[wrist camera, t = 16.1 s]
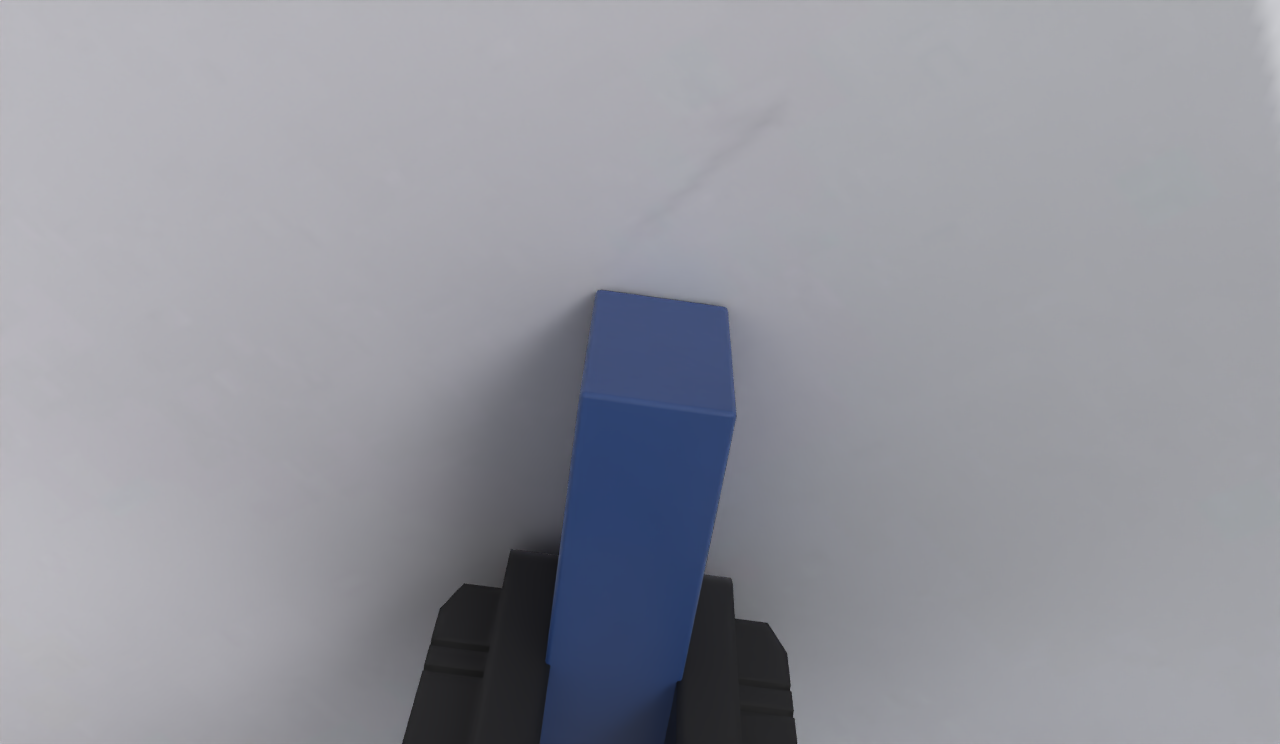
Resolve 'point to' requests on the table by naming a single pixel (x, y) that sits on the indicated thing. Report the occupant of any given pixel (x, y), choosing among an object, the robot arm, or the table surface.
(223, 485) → the table surface
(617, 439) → the blue toy mallet
